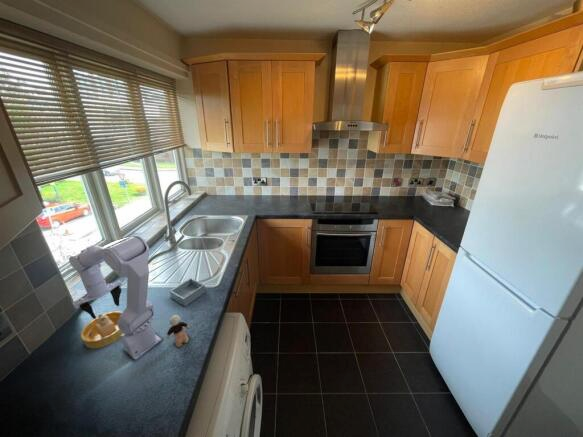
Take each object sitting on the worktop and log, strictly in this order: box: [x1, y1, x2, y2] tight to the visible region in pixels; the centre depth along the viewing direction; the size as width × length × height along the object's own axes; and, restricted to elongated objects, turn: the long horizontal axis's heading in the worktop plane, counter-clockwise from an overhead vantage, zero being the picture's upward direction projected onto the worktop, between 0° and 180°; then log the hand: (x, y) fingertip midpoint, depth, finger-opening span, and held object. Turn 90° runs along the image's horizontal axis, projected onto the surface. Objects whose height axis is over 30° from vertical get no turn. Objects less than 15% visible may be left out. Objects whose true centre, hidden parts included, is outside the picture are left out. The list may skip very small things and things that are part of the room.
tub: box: [169, 277, 207, 307], centre depth 110 cm, size 11×10×4 cm
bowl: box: [80, 310, 123, 349], centre depth 90 cm, size 14×14×4 cm
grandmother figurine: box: [166, 314, 190, 348], centre depth 84 cm, size 8×4×13 cm, turn 141°
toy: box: [95, 314, 117, 337], centre depth 90 cm, size 4×5×8 cm
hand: (106, 311), depth 89 cm, fingers open, 7 cm apart
